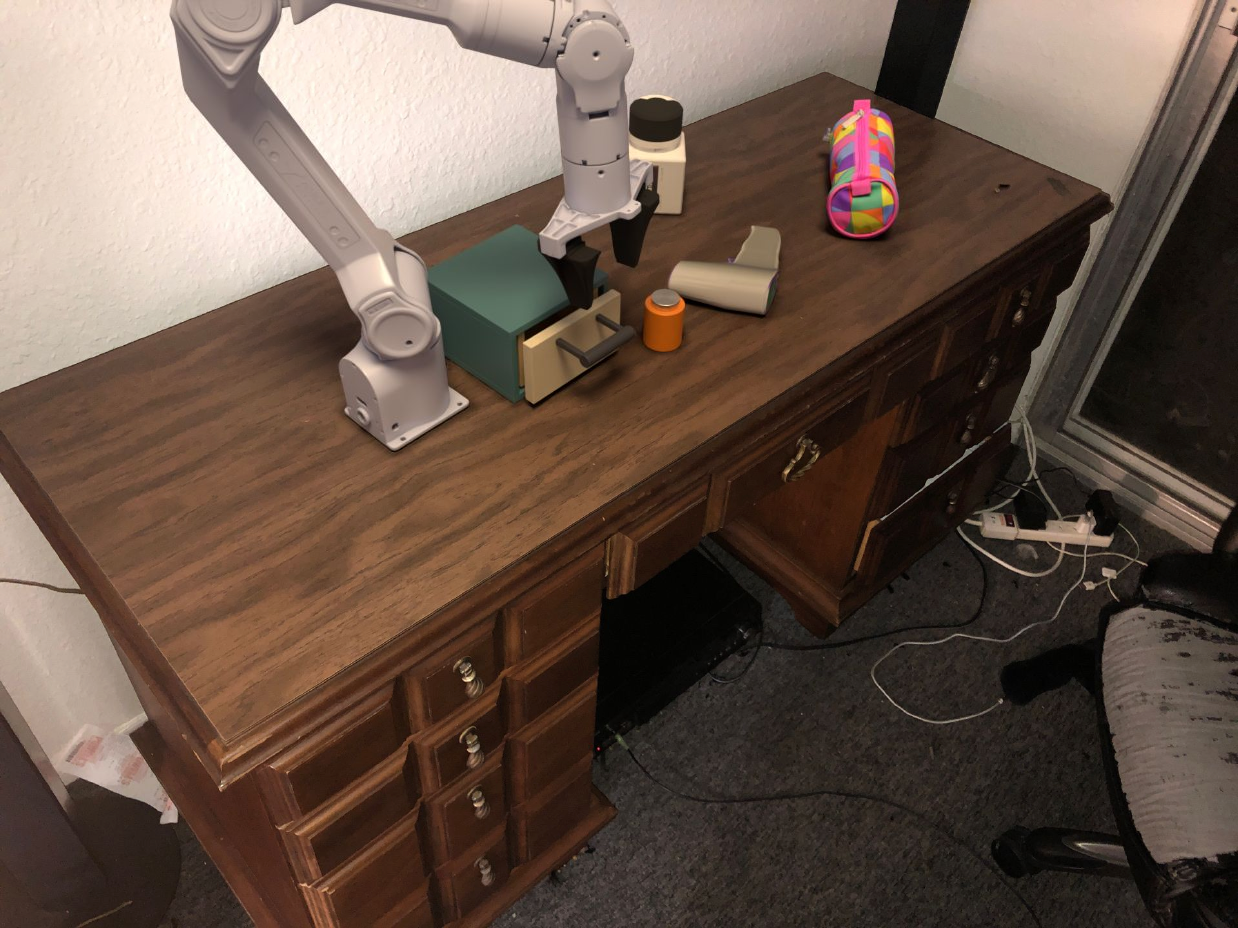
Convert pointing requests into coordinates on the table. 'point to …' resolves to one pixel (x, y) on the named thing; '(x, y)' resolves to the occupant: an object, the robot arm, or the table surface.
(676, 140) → the container
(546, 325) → the drawer
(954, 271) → the table surface
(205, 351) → the table surface
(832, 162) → the pencil case
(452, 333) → the cabinet
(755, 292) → the infrared thermometer
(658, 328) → the orange cylinder
